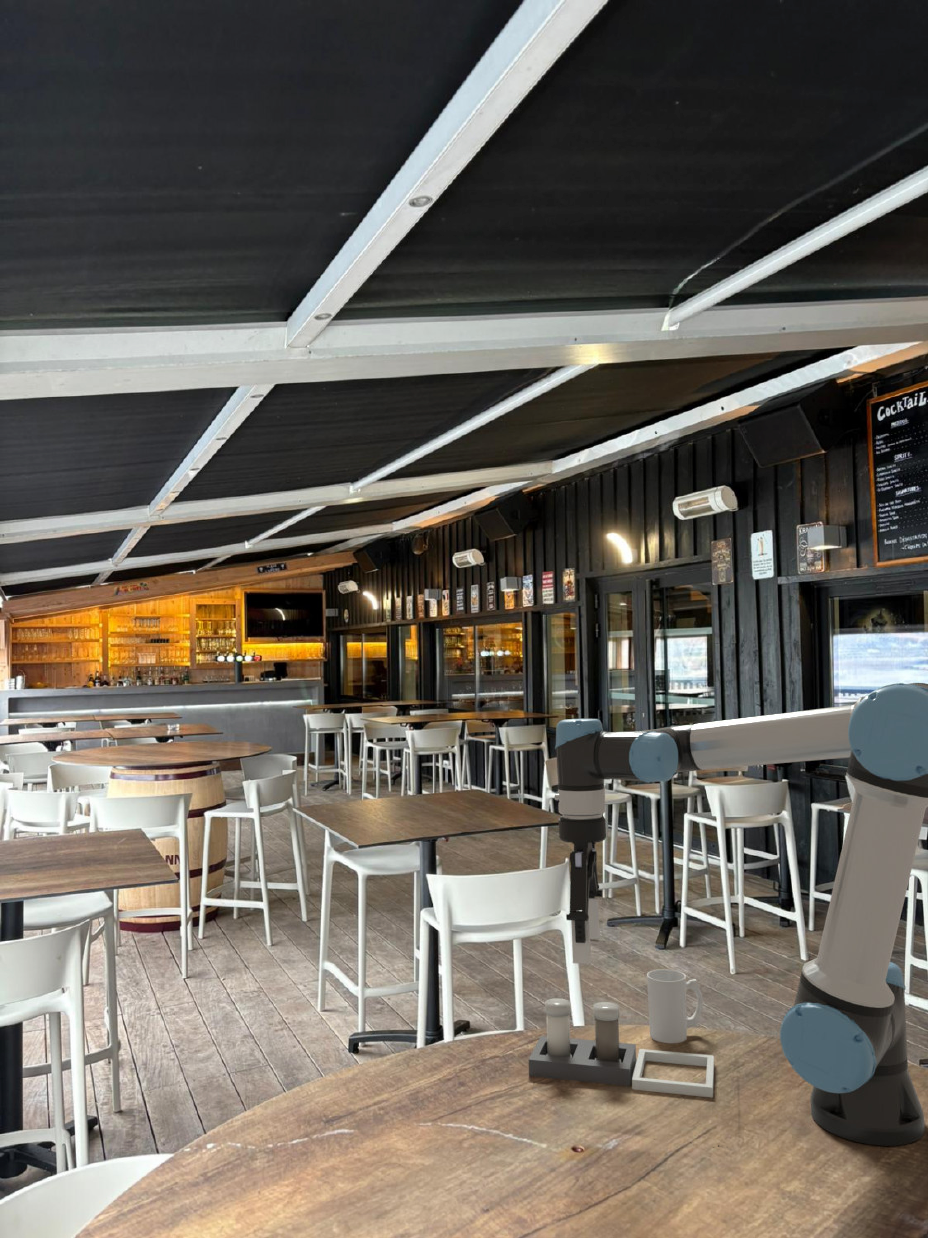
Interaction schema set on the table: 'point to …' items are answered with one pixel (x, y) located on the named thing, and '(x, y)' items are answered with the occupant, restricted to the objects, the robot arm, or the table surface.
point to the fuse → (558, 1027)
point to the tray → (674, 1086)
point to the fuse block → (583, 1063)
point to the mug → (671, 1005)
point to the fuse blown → (606, 1031)
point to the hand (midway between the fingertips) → (586, 950)
